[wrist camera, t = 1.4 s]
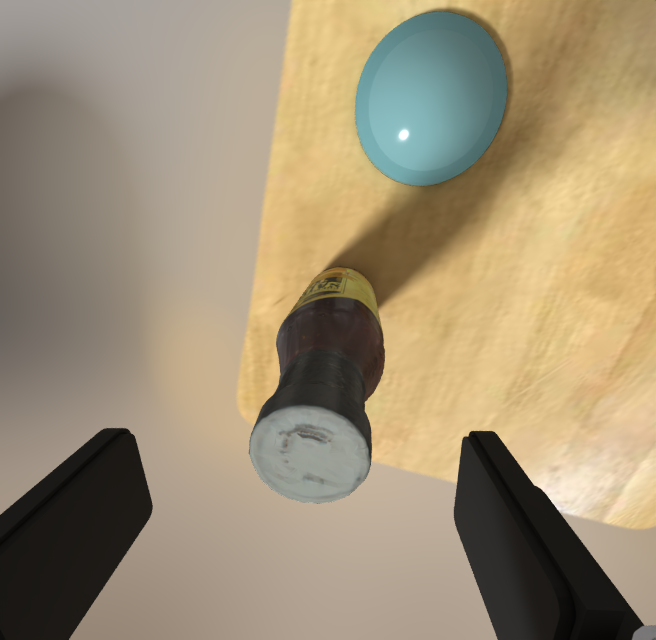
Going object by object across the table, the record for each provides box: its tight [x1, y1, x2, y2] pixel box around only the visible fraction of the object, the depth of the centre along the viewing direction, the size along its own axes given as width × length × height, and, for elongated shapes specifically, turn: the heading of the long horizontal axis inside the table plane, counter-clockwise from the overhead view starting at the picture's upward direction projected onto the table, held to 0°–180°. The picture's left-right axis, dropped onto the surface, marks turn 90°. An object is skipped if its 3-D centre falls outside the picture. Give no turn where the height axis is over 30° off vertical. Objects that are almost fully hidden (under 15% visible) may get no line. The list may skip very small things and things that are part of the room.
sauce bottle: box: [249, 267, 385, 504], centre depth 19 cm, size 6×6×20 cm
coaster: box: [355, 12, 507, 186], centre depth 23 cm, size 11×11×1 cm
